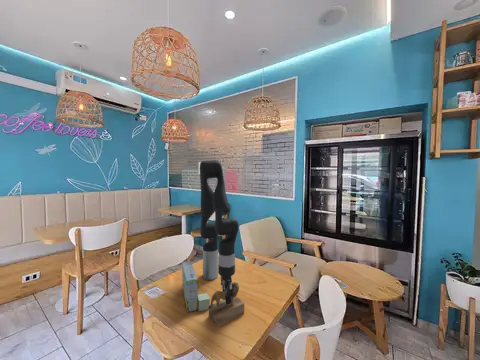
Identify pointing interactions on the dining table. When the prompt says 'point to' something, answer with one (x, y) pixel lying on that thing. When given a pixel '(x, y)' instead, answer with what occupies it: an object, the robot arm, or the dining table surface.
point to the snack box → (190, 286)
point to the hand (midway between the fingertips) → (226, 299)
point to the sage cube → (203, 302)
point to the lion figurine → (221, 295)
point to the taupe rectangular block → (226, 311)
